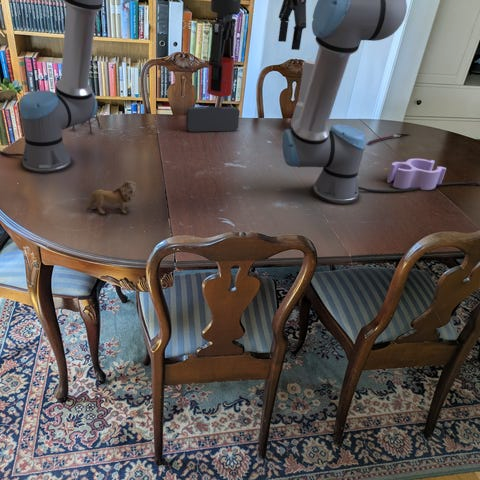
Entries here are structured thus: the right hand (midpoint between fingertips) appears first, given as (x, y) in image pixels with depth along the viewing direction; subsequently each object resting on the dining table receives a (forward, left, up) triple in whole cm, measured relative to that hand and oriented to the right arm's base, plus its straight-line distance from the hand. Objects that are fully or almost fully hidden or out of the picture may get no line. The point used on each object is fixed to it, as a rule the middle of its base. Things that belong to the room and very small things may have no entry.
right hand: (288, 45), depth 164 cm
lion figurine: (+64, +39, -41) cm, 85 cm away
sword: (-61, -13, -41) cm, 74 cm away
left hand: (+33, +35, -5) cm, 49 cm away
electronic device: (-24, -27, -41) cm, 54 cm away
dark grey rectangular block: (+20, -26, -41) cm, 52 cm away
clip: (-45, +30, -41) cm, 68 cm away
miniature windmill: (+71, -29, -41) cm, 87 cm away
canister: (+33, +35, -7) cm, 49 cm away
